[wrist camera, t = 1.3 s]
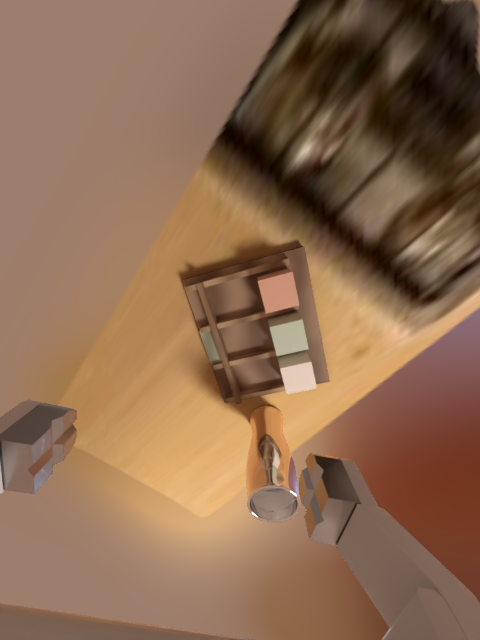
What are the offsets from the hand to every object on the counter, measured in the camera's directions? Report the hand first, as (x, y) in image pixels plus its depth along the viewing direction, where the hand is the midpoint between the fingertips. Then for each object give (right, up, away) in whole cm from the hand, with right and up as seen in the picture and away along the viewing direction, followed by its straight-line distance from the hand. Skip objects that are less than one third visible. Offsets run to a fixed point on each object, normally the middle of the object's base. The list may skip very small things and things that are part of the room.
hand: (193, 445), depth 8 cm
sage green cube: (+9, +3, +28) cm, 30 cm away
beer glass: (+6, -14, +36) cm, 39 cm away
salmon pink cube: (+7, +9, +26) cm, 29 cm away
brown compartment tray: (+5, +3, +30) cm, 31 cm away
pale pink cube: (+10, -3, +30) cm, 32 cm away
